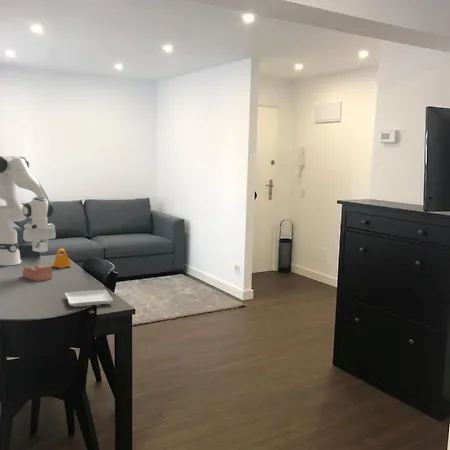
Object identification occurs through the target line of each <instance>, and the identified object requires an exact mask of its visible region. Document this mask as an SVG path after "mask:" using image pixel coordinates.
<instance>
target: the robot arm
mask: <svg viewBox="0 0 450 450" xmlns="http://www.w3.org/2000/svg"><path fill="white" fill-rule="evenodd" d="M16 187H18V188H21V189H24V190H28V191H31V192H33V193H34V194H35V197H33V198H32V200H31V201H29V202H25V203H24V204H22V203H21V202H20V200H19V199H18V196H17V188H16ZM0 199H1V200H2V201H4V202H5V204H6V205H0V266H15V265H20V264H21V263H22V262H23V261H22V260H21V253H20V249H19V242H18V232H17V230H16V229H15V228H14V227H11V226H10V223H13V222H14V223H15V222H21V221H25V220H26V219H27V218H29V219H31V221H30V222H28V223H25V224H24V225H23V228H24V230H23V232H22V239H23V241H24V242H27V243H28V242H31V245H32V244H33V246H32V249H33V248H37V245H36V244H35V242H36V241H37V240H42V241H48V242H49V240H53V239H56V237H57V235H56V226H55V224H54V223H48V219H49V218H51V217H52V216H53V215H54V213H55V207H54V205H53V203H52V202H51V200H50V199H49V197H48V196H47V194H46V191H45V189H44V188H43V186H42V184H41V183H40V181H39V180H37V179H36V178H35V176H33V175H32V172H31V170H30V163H29V160H28V158H26V157H23V156H15V155H10V156H8V155H7V156H1V155H0Z"/></svg>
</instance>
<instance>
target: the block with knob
mask: <svg viewBox="0 0 450 450" xmlns="http://www.w3.org/2000/svg"><path fill="white" fill-rule="evenodd" d="M48 243H49V240H48V241H44V240H37V241H36V242H35V244H36V245H37V248H33V244H32V243H31V245H32V252H37V253H45V252H48V250H49V249H48V248H49V246H48V245H49V244H48Z"/></svg>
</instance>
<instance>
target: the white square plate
mask: <svg viewBox="0 0 450 450" xmlns="http://www.w3.org/2000/svg"><path fill="white" fill-rule="evenodd" d="M64 295H65V296H66V299H67V302H68V304H69V305H70V306H71V307H74V308H79V307H80V308H81V307H92V306H91V305H96V306H101V305H100V304H105V305H109V304H111V303H112V302H113V301H114V299H113V297H112V296H111V295H110V294H109V292H108V290H107V289H96V290H95V289H94V290H92V289H91V290H81V291H70V292H64Z"/></svg>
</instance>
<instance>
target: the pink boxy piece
mask: <svg viewBox="0 0 450 450" xmlns="http://www.w3.org/2000/svg"><path fill="white" fill-rule="evenodd" d="M52 267H53V265H46V266H45V265H44V266H40V265H38V264H36V265H34V268H31V267H26V266H24V267H23V269H22V277H23V278H26V279H30V280H32V281H35V282H42V281H47V280H52V278H53V277H52V276H53V275H52V271H53V268H52Z"/></svg>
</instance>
